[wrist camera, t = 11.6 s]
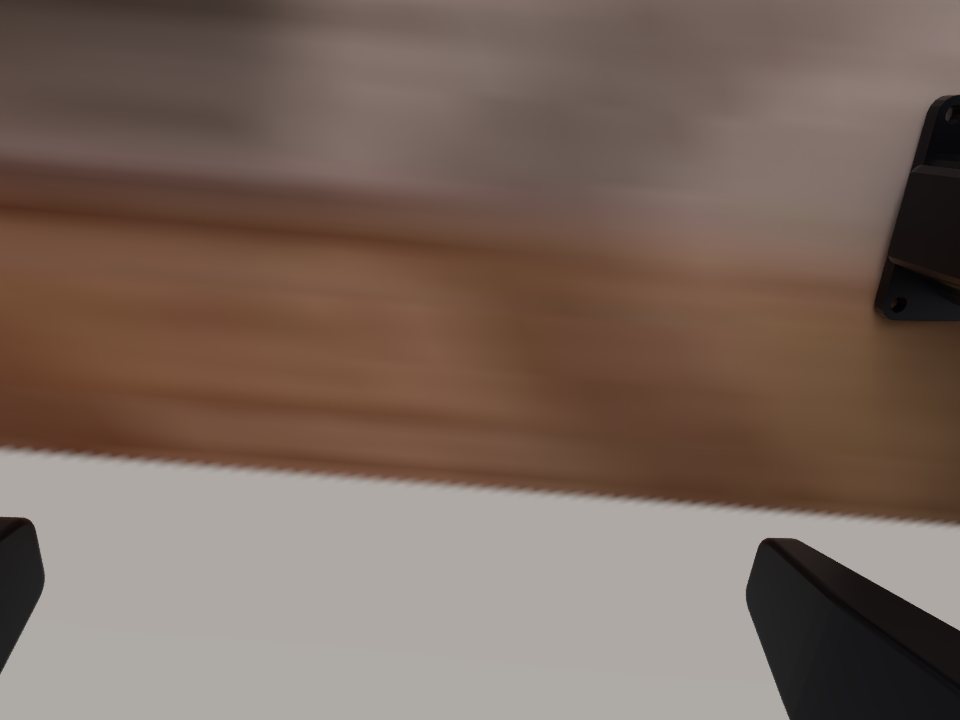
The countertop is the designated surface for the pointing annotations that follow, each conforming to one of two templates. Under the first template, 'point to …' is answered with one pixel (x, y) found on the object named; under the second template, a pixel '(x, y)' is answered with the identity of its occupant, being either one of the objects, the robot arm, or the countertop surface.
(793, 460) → the countertop surface
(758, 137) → the countertop surface
